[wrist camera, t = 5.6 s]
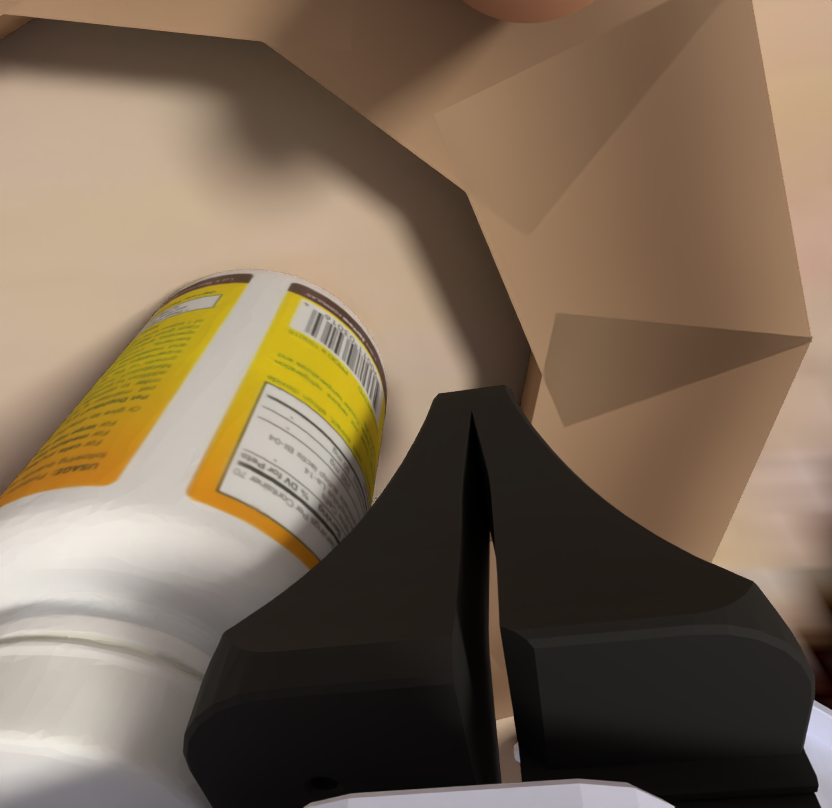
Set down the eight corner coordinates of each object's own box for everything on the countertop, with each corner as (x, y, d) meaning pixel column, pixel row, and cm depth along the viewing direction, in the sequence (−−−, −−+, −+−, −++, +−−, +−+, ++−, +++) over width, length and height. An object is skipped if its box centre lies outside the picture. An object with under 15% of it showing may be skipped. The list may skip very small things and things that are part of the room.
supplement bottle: (143, 432, 17) (-174, 903, 9) (165, 225, 14) (-285, 625, 6) (359, 490, 18) (263, 982, 9) (422, 303, 15) (368, 770, 6)
